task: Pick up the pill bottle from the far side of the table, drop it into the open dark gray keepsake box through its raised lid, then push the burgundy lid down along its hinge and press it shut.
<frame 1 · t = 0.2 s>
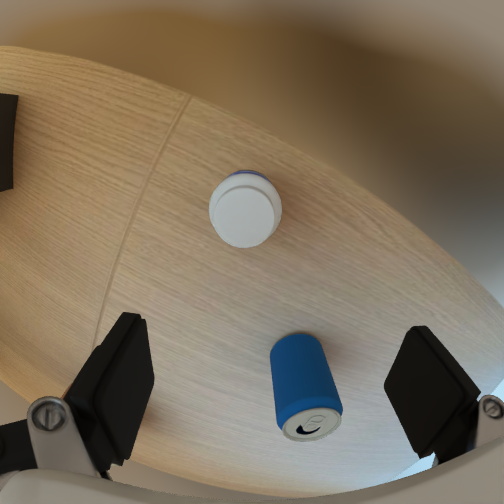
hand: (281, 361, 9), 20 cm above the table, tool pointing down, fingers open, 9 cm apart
beverage can: (295, 349, 33), on the table
pill bottle: (246, 196, 27), on the table
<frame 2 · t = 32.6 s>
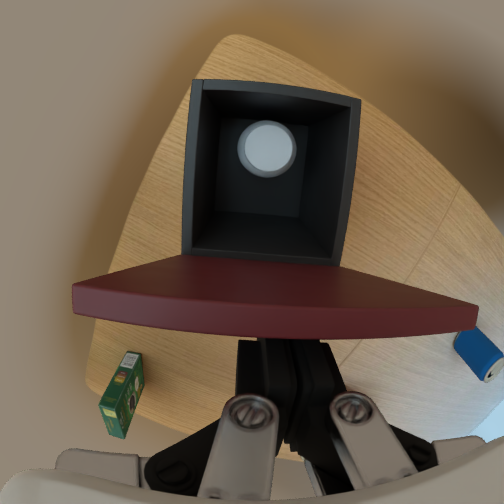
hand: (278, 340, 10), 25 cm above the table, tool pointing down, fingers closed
coffee box: (136, 366, 42), on the table
beverage can: (463, 335, 42), on the table
pill bottle: (263, 150, 31), point 1 cm above the table, touching dark gray keepsake box
dark gray keepsake box: (260, 166, 32), on the table
keepsake box lid: (273, 280, 13), point 22 cm above the table, hinge at 73.2°, touching gripper
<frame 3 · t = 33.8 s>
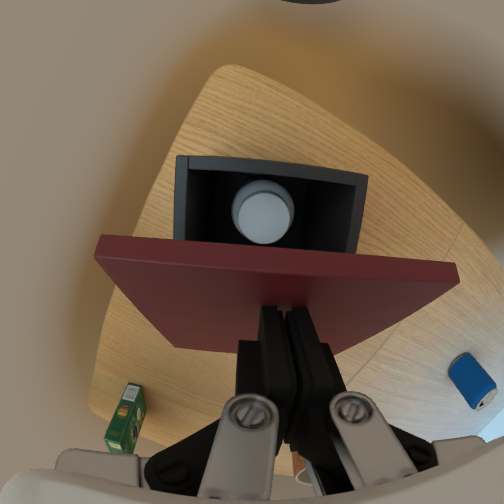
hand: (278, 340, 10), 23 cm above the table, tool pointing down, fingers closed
coffee box: (137, 396, 42), on the table
beverage can: (458, 363, 42), on the table
pill bottle: (259, 199, 30), point 1 cm above the table, touching dark gray keepsake box
dark gray keepsake box: (257, 215, 31), on the table
planter: (319, 427, 45), on the table
keepsake box lid: (268, 326, 13), point 20 cm above the table, hinge at 41.1°, touching gripper
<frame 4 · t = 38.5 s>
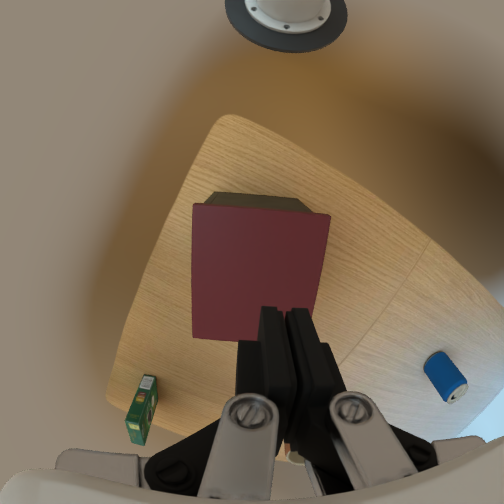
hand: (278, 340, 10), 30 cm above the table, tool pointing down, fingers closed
coffee box: (151, 386, 50), on the table
beverage can: (433, 360, 50), on the table
dark gray keepsake box: (252, 238, 40), on the table
keepsake box lid: (255, 282, 25), point 15 cm above the table, hinge at 1.1°
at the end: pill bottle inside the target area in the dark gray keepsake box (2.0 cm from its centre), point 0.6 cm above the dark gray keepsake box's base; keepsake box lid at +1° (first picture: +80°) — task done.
